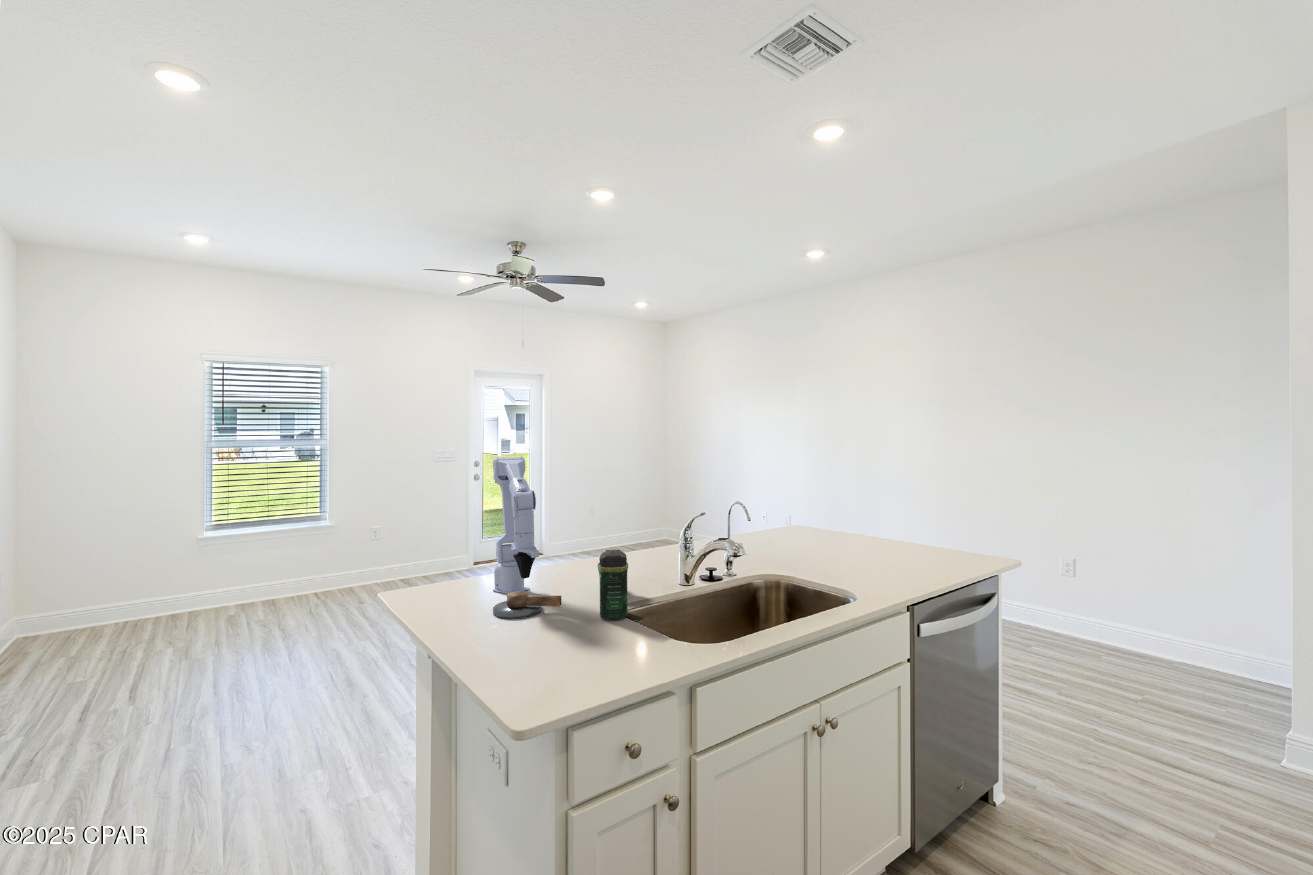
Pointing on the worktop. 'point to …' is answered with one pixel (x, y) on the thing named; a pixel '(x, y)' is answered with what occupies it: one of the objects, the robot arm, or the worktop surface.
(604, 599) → the coffee jar
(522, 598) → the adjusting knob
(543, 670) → the worktop surface
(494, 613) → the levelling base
